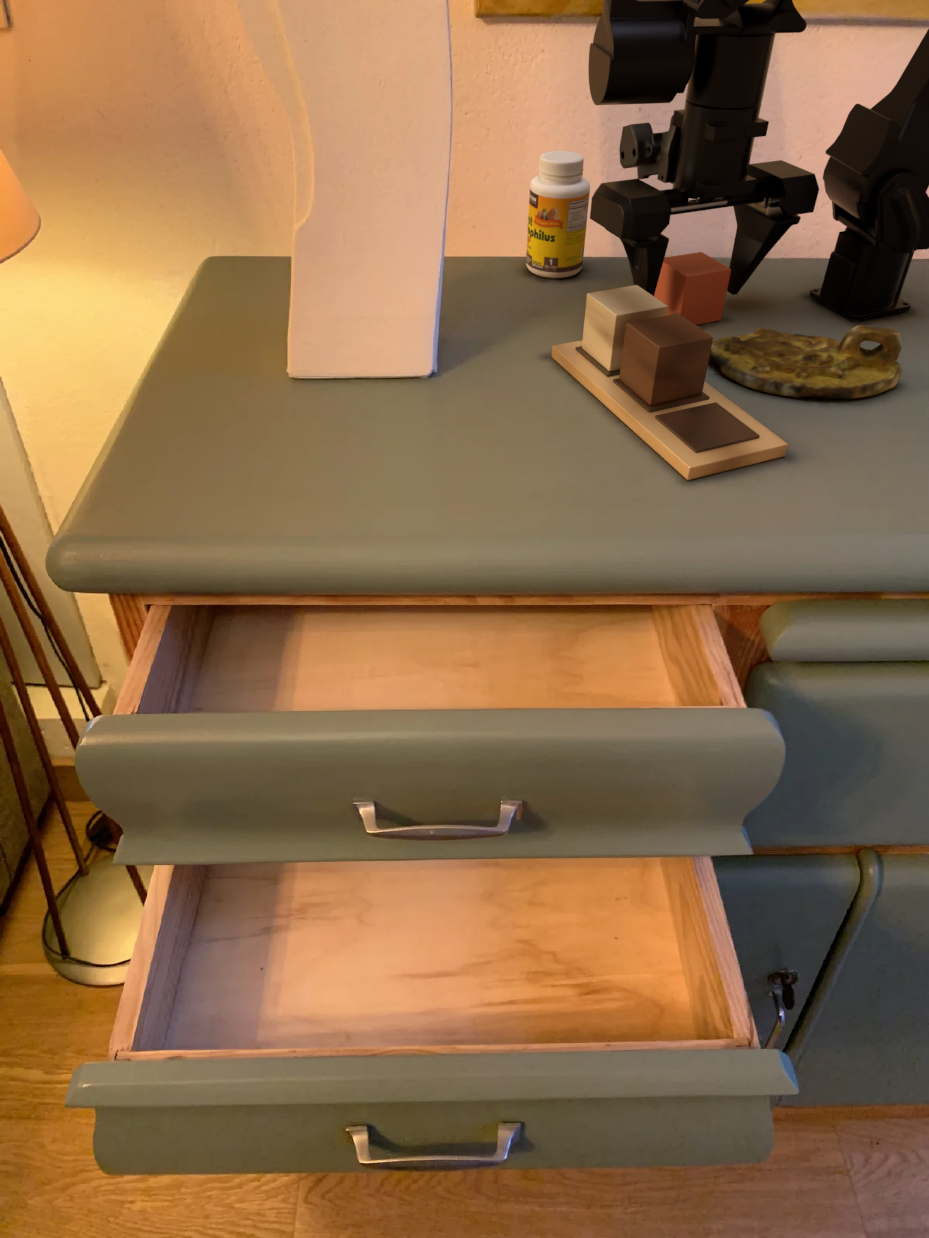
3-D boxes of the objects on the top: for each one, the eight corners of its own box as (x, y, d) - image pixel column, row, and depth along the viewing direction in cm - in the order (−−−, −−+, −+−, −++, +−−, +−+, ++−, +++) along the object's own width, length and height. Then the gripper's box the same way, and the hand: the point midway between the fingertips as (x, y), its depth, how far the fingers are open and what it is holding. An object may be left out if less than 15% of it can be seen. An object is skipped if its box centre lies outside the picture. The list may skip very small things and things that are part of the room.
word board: (635, 341, 75) (644, 273, 72) (785, 456, 62) (806, 380, 58) (550, 357, 73) (556, 288, 69) (687, 480, 59) (703, 403, 56)
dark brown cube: (669, 369, 69) (678, 312, 66) (702, 395, 66) (714, 336, 63) (618, 379, 68) (626, 322, 65) (650, 406, 65) (659, 347, 62)
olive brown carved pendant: (697, 399, 70) (899, 420, 67) (707, 345, 66) (921, 365, 64) (705, 337, 76) (890, 354, 73) (714, 285, 72) (910, 301, 70)
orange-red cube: (692, 301, 82) (701, 251, 79) (721, 320, 79) (731, 269, 76) (650, 309, 80) (657, 258, 77) (677, 328, 77) (686, 276, 74)
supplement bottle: (514, 267, 88) (518, 154, 81) (557, 255, 90) (565, 144, 83) (550, 285, 84) (558, 168, 78) (594, 272, 87) (605, 158, 80)
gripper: (758, 72, 77) (722, 256, 87) (566, 89, 71) (552, 284, 82) (847, 99, 69) (796, 298, 79) (639, 121, 63) (613, 331, 74)
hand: (688, 301), depth 79 cm, fingers open, 9 cm apart
